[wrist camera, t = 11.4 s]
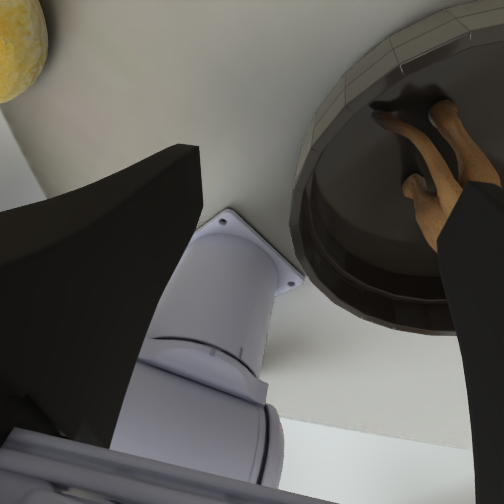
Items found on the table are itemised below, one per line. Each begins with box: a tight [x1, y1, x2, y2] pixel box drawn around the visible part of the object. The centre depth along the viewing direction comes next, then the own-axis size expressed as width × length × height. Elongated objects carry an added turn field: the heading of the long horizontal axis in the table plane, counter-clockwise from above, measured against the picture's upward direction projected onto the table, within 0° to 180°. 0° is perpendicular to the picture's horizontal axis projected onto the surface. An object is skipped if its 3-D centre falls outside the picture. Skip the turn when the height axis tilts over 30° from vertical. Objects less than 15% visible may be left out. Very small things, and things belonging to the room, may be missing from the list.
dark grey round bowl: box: [289, 0, 504, 336], centre depth 17 cm, size 16×16×4 cm
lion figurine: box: [371, 99, 502, 253], centre depth 15 cm, size 15×5×9 cm, turn 55°
